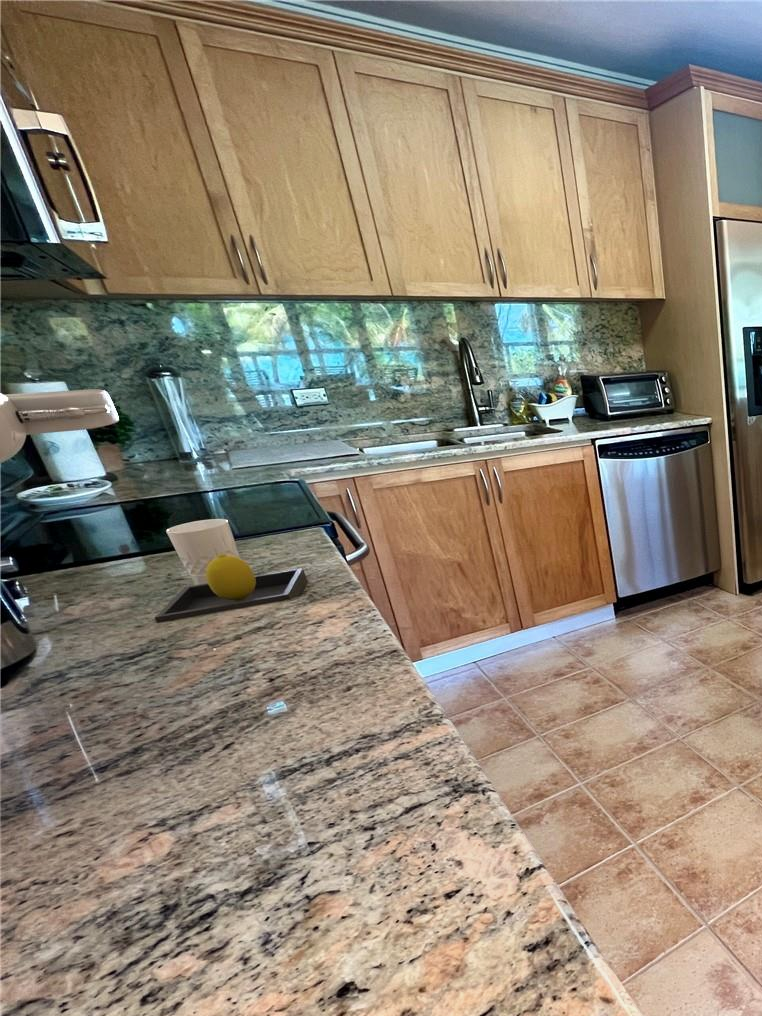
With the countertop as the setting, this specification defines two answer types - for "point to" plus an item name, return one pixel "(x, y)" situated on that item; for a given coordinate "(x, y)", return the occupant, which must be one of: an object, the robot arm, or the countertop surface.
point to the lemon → (230, 577)
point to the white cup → (202, 545)
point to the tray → (206, 601)
